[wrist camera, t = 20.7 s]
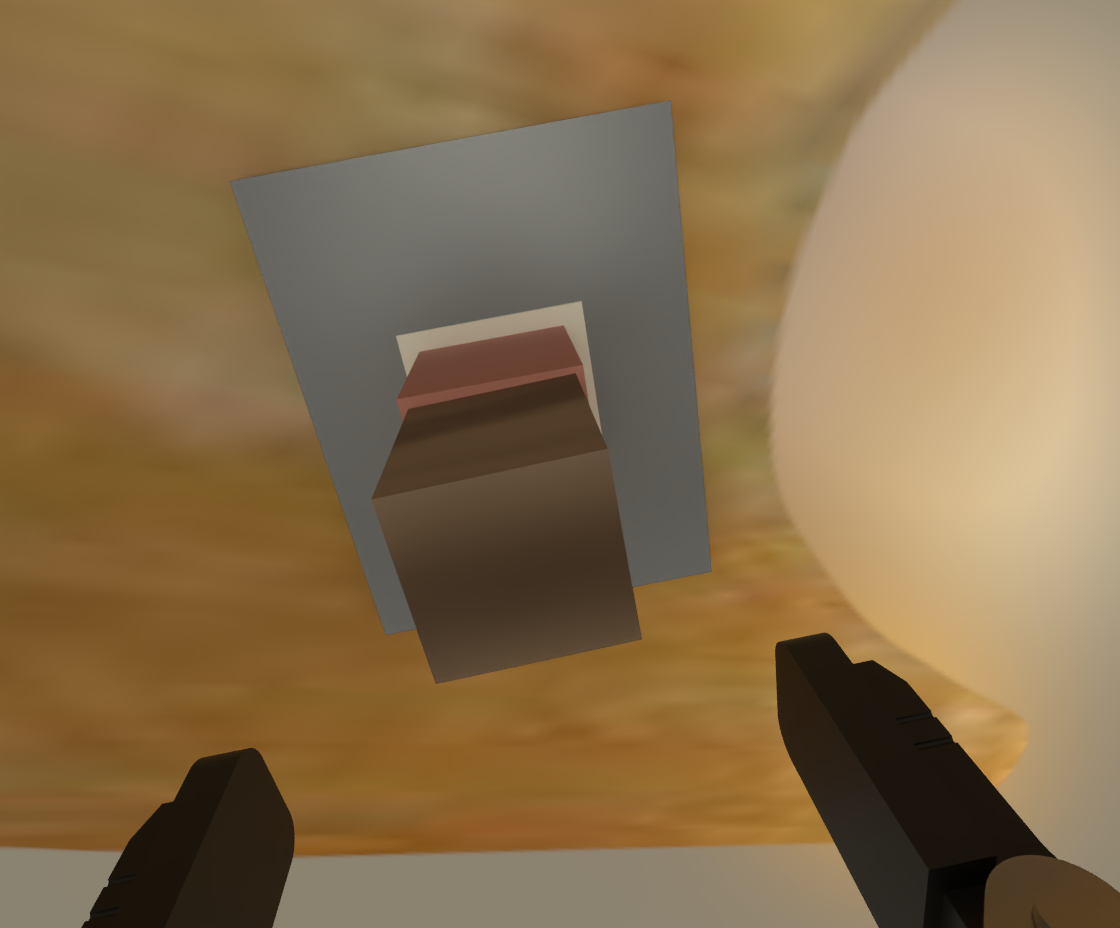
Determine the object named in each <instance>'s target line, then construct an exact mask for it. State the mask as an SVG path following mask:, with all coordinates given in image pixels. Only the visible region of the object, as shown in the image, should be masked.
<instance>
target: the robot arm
mask: <svg viewBox="0 0 1120 928" xmlns="http://www.w3.org/2000/svg"><path fill="white" fill-rule="evenodd" d="M775 658H776V682H777V706H778V720H779V725H780V730H781V734H782V737H783V740H784V743H785V746H786V749H787V751H788V754H789V756H790V758H791V760H792V762H793V764H794V766H795V768H796V770H797V772H798V774H799V776H800V777H801V779H802V781H803V783H804V785H805V787H806V789H807V791H808V793H809V795H810V797H811V799H812V800H813V802H814V804H815V806H816V808H817V810H818V812H819V814H820V816H821V818H822V820H823V822H824V823H825V825H826V827H827V829H828V831H829V833H830V835H831V837H832V839H833V841H834V843H835V845H836V846H837V848H838V850H839V852H840V854H841V856H842V858H843V860H844V862H845V864H846V866H847V868H848V869H849V871H850V873H851V875H852V877H853V879H854V881H855V883H856V885H857V887H858V889H859V891H860V893H861V894H862V896H863V898H864V900H865V902H866V904H867V906H868V908H869V910H870V911H871V914H872V916H873V917H874V919H875V921H876V923H877V925H878V927H879V928H1120V893H1119V892H1118V891H1117V890H1115V889H1114V888H1113V887H1112V886H1110V885H1109V884H1108V883H1107V882H1105V881H1103V880H1102V879H1100V878H1099V877H1097V876H1096V875H1094V874H1092V873H1090V872H1089V871H1087V870H1085V869H1083V868H1081V867H1079V866H1076V865H1074V864H1071V863H1069V862H1066V861H1063V860H1059V859H1057V858H1056V857H1055V856H1054V855H1053V854H1052V853H1050V852H1049V851H1048V849H1047V848H1046V847H1045V846H1044V845H1043V844H1042V843H1041V842H1040V841H1039V840H1038V838H1037V837H1036V836H1035V835H1034V834H1033V832H1032V831H1031V830H1030V829H1029V828H1028V826H1027V825H1026V824H1025V823H1024V822H1023V820H1022V819H1021V818H1020V817H1019V816H1018V815H1017V813H1016V812H1015V811H1014V810H1013V809H1012V807H1011V806H1010V805H1009V804H1008V803H1007V802H1006V800H1005V799H1004V798H1003V797H1002V795H1001V794H1000V793H999V792H998V791H997V789H996V788H995V787H994V786H993V785H992V783H991V782H990V781H989V780H988V779H987V777H986V776H985V775H984V774H983V773H982V771H981V770H980V769H979V768H978V767H977V765H976V764H975V763H974V762H973V761H972V759H971V758H970V757H969V756H968V755H967V753H966V752H965V751H964V750H963V749H962V747H961V746H960V745H959V744H958V743H955V742H954V741H953V739H952V735H951V734H950V733H949V732H948V731H947V729H946V728H945V727H944V726H943V725H942V723H941V722H940V721H939V720H938V719H937V717H933V716H932V713H931V710H930V709H929V708H928V707H927V706H926V704H925V703H924V702H923V701H922V700H921V698H920V697H919V696H918V695H917V694H916V692H915V691H914V690H913V689H912V688H911V686H910V685H909V684H908V683H907V682H906V681H905V680H903V679H901V678H900V677H898V676H897V675H895V674H894V673H892V672H890V671H889V670H887V669H886V668H884V667H883V666H881V665H880V664H878V663H876V662H875V661H873V660H871V661H866V662H861V663H856V664H853V663H852V662H851V661H850V659H849V658H848V657H847V655H846V654H845V653H844V651H843V650H842V649H841V647H840V646H839V645H838V643H837V642H836V641H835V640H834V638H833V637H832V636H831V635H830V634H828V633H820V634H815V635H810V636H805V637H801V638H796V639H791V640H786V641H781V642H778V643H777V644H776V649H775ZM294 839H295V838H294V825H293V820H292V817H291V814H290V812H289V810H288V808H287V806H286V804H285V802H284V800H283V798H282V796H281V794H280V792H279V790H278V788H277V786H276V784H275V782H274V780H273V778H272V776H271V774H270V772H269V770H268V768H267V766H266V764H265V762H264V760H263V758H262V756H261V754H260V753H259V752H258V751H257V750H256V749H254V748H248V749H243V750H238V751H233V752H228V753H223V754H218V755H214V756H209V757H204V758H201V759H199V760H197V761H196V762H195V763H194V764H193V765H192V767H191V769H190V770H189V772H188V774H187V776H186V778H185V780H184V782H183V784H182V786H181V788H180V790H179V792H178V794H177V796H176V798H175V799H174V801H173V802H169V803H165V804H162V805H161V806H160V807H159V808H158V809H157V810H156V811H155V813H154V814H153V815H152V816H151V817H150V818H149V819H148V820H147V821H146V823H145V824H144V825H143V826H142V827H141V828H140V829H139V830H138V831H137V833H136V834H135V835H134V836H133V837H132V838H131V839H130V841H129V842H128V844H127V846H126V848H125V850H124V851H123V853H122V855H121V857H120V859H119V861H118V862H117V864H116V866H115V868H114V870H113V871H112V873H111V875H110V877H109V879H108V881H109V884H108V886H107V887H104V888H103V890H102V891H101V893H100V895H99V897H98V899H97V900H96V902H95V904H94V906H93V908H92V910H91V912H90V919H89V921H86V922H84V924H83V926H82V928H272V927H273V923H274V920H275V916H276V913H277V910H278V906H279V903H280V899H281V896H282V892H283V889H284V886H285V882H286V879H287V876H288V872H289V869H290V865H291V862H292V858H293V852H294Z"/></svg>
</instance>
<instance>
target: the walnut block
mask: <svg viewBox="0 0 1120 928" xmlns="http://www.w3.org/2000/svg"><path fill="white" fill-rule="evenodd" d="M371 501H372V504H373V507H374V509H375V512H376V515H377V518H378V521H379V524H380V526H381V529H382V532H383V535H384V538H385V541H386V543H387V546H388V549H389V552H390V555H391V558H392V561H393V563H394V566H395V569H396V572H397V575H398V578H399V580H400V583H401V586H402V589H403V592H404V595H405V598H406V600H407V603H408V606H409V609H410V612H411V615H412V617H413V620H414V623H415V626H416V629H417V632H418V635H419V637H420V640H421V643H422V646H423V649H424V652H425V654H426V657H427V660H428V663H429V666H430V669H431V672H432V674H433V677H434V680H435V683H436V684H438V683H443V682H447V681H452V680H457V679H461V678H466V677H471V676H475V675H480V674H484V673H489V672H494V671H498V670H503V669H508V668H512V667H517V666H521V665H526V664H531V663H535V662H540V661H544V660H549V659H554V658H558V657H563V656H568V655H572V654H577V653H581V652H586V651H591V650H595V649H600V648H604V647H609V646H614V645H618V644H623V643H628V642H632V641H637V640H641V639H642V638H641V632H640V627H639V621H638V616H637V610H636V604H635V599H634V593H633V587H632V582H631V576H630V571H629V565H628V559H627V554H626V548H625V542H624V537H623V531H622V526H621V520H620V514H619V509H618V503H617V497H616V492H615V486H614V481H613V475H612V469H611V464H610V458H609V452H608V448H607V446H606V443H605V441H604V439H603V436H602V434H601V432H600V429H599V427H598V424H597V422H596V420H595V417H594V415H593V413H592V410H591V408H590V406H589V403H588V401H587V399H586V396H585V394H584V392H583V389H582V387H581V385H580V382H579V380H578V377H577V375H576V373H574V374H570V375H565V376H560V377H556V378H551V379H546V380H542V381H537V382H532V383H528V384H523V385H518V386H514V387H509V388H504V389H500V390H495V391H490V392H486V393H481V394H476V395H472V396H467V397H462V398H458V399H453V400H448V401H444V402H439V403H434V404H430V405H425V406H420V407H416V408H411V409H408V410H407V413H406V415H405V418H404V420H403V423H402V425H401V428H400V430H399V433H398V435H397V437H396V440H395V442H394V445H393V447H392V450H391V452H390V455H389V457H388V459H387V462H386V464H385V467H384V469H383V472H382V474H381V477H380V479H379V482H378V484H377V486H376V489H375V491H374V494H373V496H372V499H371Z"/></svg>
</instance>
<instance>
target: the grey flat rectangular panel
mask: <svg viewBox="0 0 1120 928" xmlns="http://www.w3.org/2000/svg"><path fill="white" fill-rule="evenodd" d="M230 183H231V186H232V189H233V192H234V195H235V198H236V201H237V204H238V207H239V209H240V212H241V215H242V218H243V221H244V224H245V227H246V230H247V233H248V236H249V239H250V241H251V244H252V247H253V250H254V253H255V256H256V259H257V262H258V265H259V268H260V271H261V273H262V276H263V279H264V282H265V285H266V288H267V291H268V294H269V297H270V300H271V303H272V305H273V308H274V311H275V314H276V317H277V320H278V323H279V326H280V329H281V332H282V335H283V337H284V340H285V343H286V346H287V349H288V352H289V355H290V358H291V361H292V364H293V367H294V369H295V372H296V375H297V378H298V381H299V384H300V387H301V390H302V393H303V396H304V399H305V401H306V404H307V407H308V410H309V413H310V416H311V419H312V422H313V425H314V428H315V430H316V433H317V436H318V439H319V442H320V445H321V448H322V451H323V454H324V457H325V460H326V462H327V465H328V468H329V471H330V474H331V477H332V480H333V483H334V486H335V489H336V492H337V494H338V497H339V500H340V503H341V506H342V509H343V512H344V515H345V518H346V521H347V524H348V526H349V529H350V532H351V535H352V538H353V541H354V544H355V547H356V550H357V553H358V556H359V558H360V561H361V564H362V567H363V570H364V573H365V576H366V579H367V582H368V585H369V588H370V590H371V593H372V596H373V599H374V602H375V605H376V608H377V611H378V614H379V617H380V620H381V622H382V625H383V628H384V631H385V634H386V635H389V634H394V633H399V632H404V631H409V630H414V629H416V626H415V623H414V620H413V617H412V615H411V612H410V609H409V606H408V603H407V600H406V598H405V595H404V592H403V589H402V586H401V583H400V580H399V578H398V575H397V572H396V569H395V566H394V563H393V561H392V558H391V555H390V552H389V549H388V546H387V543H386V541H385V538H384V535H383V532H382V529H381V526H380V524H379V521H378V518H377V515H376V512H375V509H374V507H373V504H372V501H371V499H372V496H373V494H374V491H375V489H376V486H377V484H378V482H379V479H380V477H381V474H382V472H383V469H384V467H385V464H386V462H387V459H388V457H389V455H390V452H391V450H392V447H393V445H394V442H395V440H396V437H397V435H398V433H399V430H400V428H401V425H402V423H403V422H402V418H401V414H400V411H399V407H398V404H397V400H396V399H397V397H398V395H399V393H400V391H401V389H402V387H403V385H404V383H405V380H406V378H407V376H408V374H409V372H410V370H411V368H412V366H413V364H414V362H415V360H416V358H417V356H418V354H419V352H421V351H426V350H432V349H437V348H443V347H448V346H454V345H459V344H464V343H470V342H475V341H481V340H486V339H492V338H497V337H502V336H508V335H513V334H519V333H524V332H530V331H535V330H540V329H546V328H551V327H557V326H562V325H564V327H565V329H566V331H567V333H568V335H569V337H570V339H571V341H572V343H573V345H574V347H575V349H576V352H577V354H578V356H579V358H580V360H581V362H582V364H583V368H584V375H585V381H586V388H587V394H588V401H589V406H590V408H591V410H592V413H593V415H594V417H595V420H596V422H597V424H598V427H599V429H600V432H601V434H602V436H603V439H604V441H605V443H606V446H607V448H608V452H609V458H610V464H611V469H612V475H613V481H614V486H615V492H616V497H617V503H618V509H619V514H620V520H621V526H622V531H623V537H624V542H625V548H626V554H627V559H628V565H629V571H630V576H631V582H632V587H635V586H641V585H646V584H651V583H656V582H661V581H666V580H672V579H677V578H682V577H687V576H692V575H697V574H702V573H708V572H712V571H711V559H710V548H709V536H708V525H707V513H706V502H705V490H704V478H703V467H702V455H701V444H700V432H699V421H698V409H697V398H696V386H695V375H694V363H693V352H692V340H691V329H690V317H689V306H688V294H687V283H686V271H685V260H684V248H683V237H682V225H681V214H680V202H679V191H678V179H677V168H676V156H675V145H674V133H673V122H672V110H671V100H670V101H665V102H659V103H654V104H648V105H643V106H637V107H632V108H627V109H621V110H616V111H610V112H605V113H599V114H594V115H588V116H583V117H577V118H572V119H566V120H561V121H555V122H550V123H545V124H539V125H534V126H528V127H523V128H517V129H512V130H506V131H501V132H495V133H490V134H484V135H479V136H473V137H468V138H462V139H457V140H452V141H446V142H441V143H435V144H430V145H424V146H419V147H413V148H408V149H402V150H397V151H391V152H386V153H380V154H375V155H370V156H364V157H359V158H353V159H348V160H342V161H337V162H331V163H326V164H320V165H315V166H309V167H304V168H298V169H293V170H287V171H282V172H277V173H271V174H266V175H260V176H255V177H249V178H244V179H238V180H233V181H230Z"/></svg>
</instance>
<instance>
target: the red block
mask: <svg viewBox="0 0 1120 928" xmlns="http://www.w3.org/2000/svg"><path fill="white" fill-rule="evenodd" d="M574 373H576V375H577V377H578V380H579V382H580V385H581V387H582V389H583V392H584V394H585V396H586V399H587V401H588V394H587V388H586V381H585V375H584V368H583V364H582V362H581V360H580V358H579V356H578V354H577V352H576V349H575V347H574V345H573V343H572V341H571V339H570V337H569V335H568V333H567V331H566V329H565V327H564V325H562V326H557V327H551V328H546V329H540V330H535V331H530V332H524V333H519V334H513V335H508V336H502V337H497V338H492V339H486V340H481V341H475V342H470V343H464V344H459V345H454V346H448V347H443V348H437V349H432V350H426V351H421V352H419V354H418V356H417V358H416V360H415V362H414V364H413V366H412V368H411V370H410V372H409V374H408V376H407V378H406V380H405V383H404V385H403V387H402V389H401V391H400V393H399V395H398V397H397V399H396V400H397V404H398V407H399V411H400V414H401V418H402V422H403V420H404V418H405V415H406V413H407V410H408V409H411V408H416V407H420V406H425V405H430V404H434V403H439V402H444V401H448V400H453V399H458V398H462V397H467V396H472V395H476V394H481V393H486V392H490V391H495V390H500V389H504V388H509V387H514V386H518V385H523V384H528V383H532V382H537V381H542V380H546V379H551V378H556V377H560V376H565V375H570V374H574ZM588 403H589V401H588Z"/></svg>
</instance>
